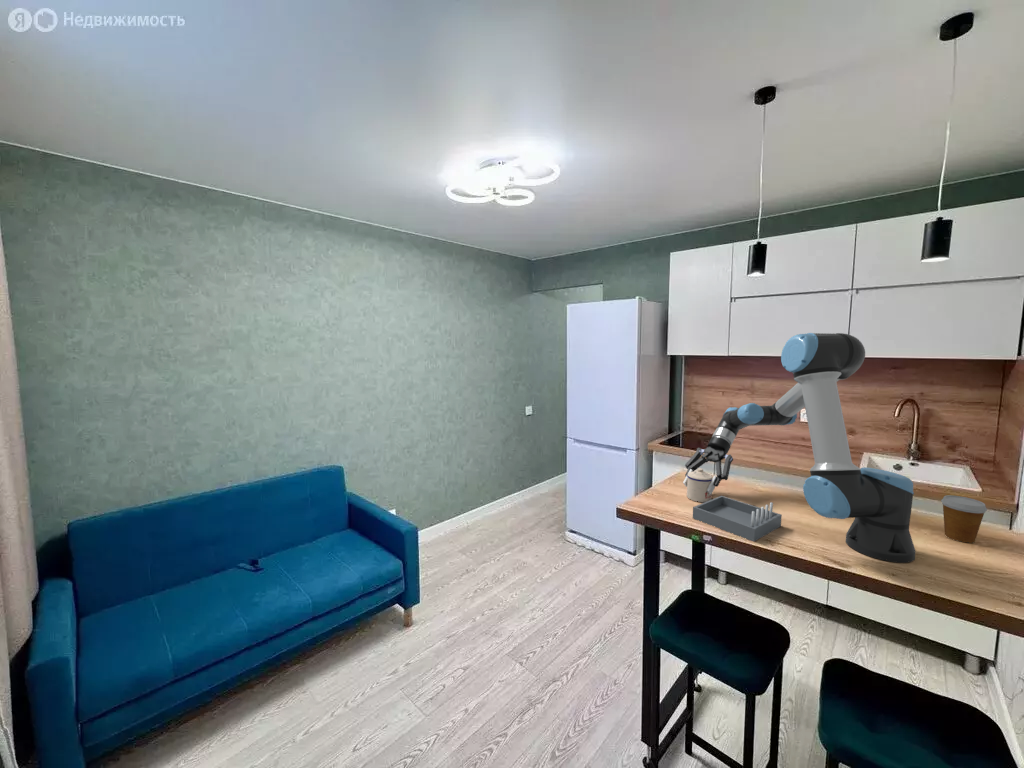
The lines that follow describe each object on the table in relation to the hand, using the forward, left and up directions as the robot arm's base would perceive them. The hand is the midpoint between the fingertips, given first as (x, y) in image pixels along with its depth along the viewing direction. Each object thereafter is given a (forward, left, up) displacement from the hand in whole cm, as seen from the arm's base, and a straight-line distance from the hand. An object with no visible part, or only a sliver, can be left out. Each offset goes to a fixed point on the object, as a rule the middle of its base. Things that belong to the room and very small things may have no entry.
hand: (696, 488), depth 158 cm
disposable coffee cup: (-64, -37, -5) cm, 74 cm away
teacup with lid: (+1, -3, -5) cm, 6 cm away
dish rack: (-19, +8, -4) cm, 21 cm away
